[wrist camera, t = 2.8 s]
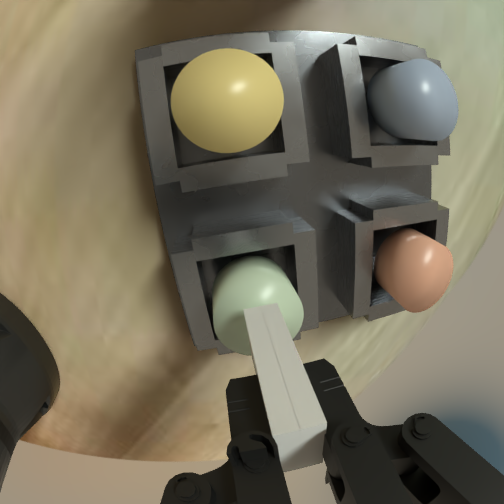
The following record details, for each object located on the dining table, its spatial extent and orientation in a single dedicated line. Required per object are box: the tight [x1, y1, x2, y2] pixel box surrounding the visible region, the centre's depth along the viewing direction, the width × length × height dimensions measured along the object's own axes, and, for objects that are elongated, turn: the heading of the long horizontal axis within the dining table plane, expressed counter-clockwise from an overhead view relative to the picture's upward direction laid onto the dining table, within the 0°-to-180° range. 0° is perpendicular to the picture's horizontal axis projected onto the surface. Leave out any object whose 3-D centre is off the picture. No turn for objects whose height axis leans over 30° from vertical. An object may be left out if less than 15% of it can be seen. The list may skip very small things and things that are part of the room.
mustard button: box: [171, 48, 284, 153], centre depth 12 cm, size 4×4×3 cm
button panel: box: [135, 30, 450, 355], centre depth 16 cm, size 19×20×4 cm
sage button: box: [212, 256, 304, 356], centre depth 15 cm, size 4×4×3 cm
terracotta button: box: [374, 228, 453, 312], centre depth 16 cm, size 4×4×3 cm
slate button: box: [367, 59, 458, 141], centre depth 12 cm, size 4×4×3 cm
